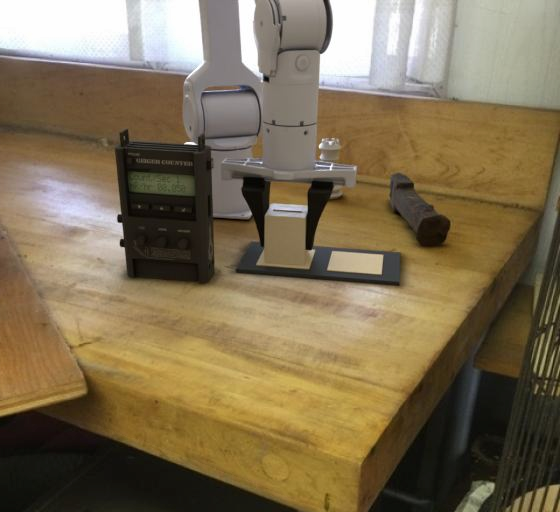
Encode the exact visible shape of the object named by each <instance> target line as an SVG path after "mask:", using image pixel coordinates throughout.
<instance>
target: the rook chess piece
mask: <svg viewBox="0 0 560 512" xmlns="http://www.w3.org/2000/svg"><path fill="white" fill-rule="evenodd" d="M330 139H331V140H330ZM320 142H321V143H320V144H319V145H318V148H319V150H320V152H321V154H320V156H319V160H320V161H322V162H329V163H335V164H338V160H339V159H340V157H339V155H338V154H339V152H340V150H341V149H342V146H341V144H340V139H339V138H334V137H332V138H329V137H326V138H322V139H321V141H320ZM342 189H343V186H338V185H334V188H333V191H332V194H331V197H330V199H329V200H336V199H339V198H341V196H342V195H343V191H342Z"/></svg>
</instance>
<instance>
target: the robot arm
mask: <svg viewBox="0 0 560 512" xmlns="http://www.w3.org/2000/svg"><path fill="white" fill-rule="evenodd" d="M253 1H254V4H255V7H254V12H253V20H252V31H253V38H254V43H255V47H256V53H257V67H258V72H259V73H260V74H262V80H261V77H260V76H258V74H256V73H255V72H254V71H253V70H252V69H250V68H249V67H248V66H247V65H246V64H245V63H244V62H243V58H242V39H241V24H240V23H241V22H240V21H241V20H240V6H239V3H240V2H239V0H198V10H199V12H198V13H199V22H200V23H199V24H200V36H201V37H200V38H201V51H202V62H201V63H200V65H199V66H197V68H195V69H194V70H193V71H192V72H191V73H190V74H189V75H188V76H187V77H186V79H185V80H184V81H183V87H182V89H183V101H182V122H183V127H184V131H185V134H186V136H187V138H188V139H189V140H190V141H189V142H185V143H184V144H192V145H198V136H200V135H201V134H202V133H205V145H208V146H210V147H211V158H213V165H214V168H213V169H212V199H213V218H220V219H221V218H222V219H234V220H250V219H251V217H252V218H253V220H254V224H255V228H256V230H257V234H258V238H259V242H260V246H261V247H264V234H265V214H266V212H267V211H268V209H269V207H270V199H271V198H270V196H271V185H272V184H271V183H272V182H274V183H290V184H292V183H293V184H307V185H310V186H309V188H308V190H307V195H306V197H307V206H308V224H307V233H306V250H312V248H313V246H315V237H316V232H317V229H318V225H319V222H320V219H321V218H322V215H323V212H324V210H325V209H326V206H327V205H328V202H329V201H330V200H331V199H330V197H331V194H332V191H333V188H334V185H338V186H342V187H344V188H347V189H355V188H356V184H357V171H358V166H357V165H350V164H343V163H341V164H340V163H337V164H335V163H329V162H322V161H321V160H317V138H318V137H317V135H318V117H319V116H318V115H319V93H320V92H319V91H320V68H321V55H323V54H324V53H325V52H327V50H328V48H329V47H330V44H331V40H332V37H333V30H334V29H333V28H334V14H333V8H332V3H331V0H253ZM230 86H232V87H237V88H240V89H225V90H206V89H208V88H211V87H230ZM205 90H206V91H205ZM260 138H262V144H261V145H262V147H261V148H262V149H261V151H262V157H253V146H257V145H258V140H259V139H260ZM201 144H202V141H201Z"/></svg>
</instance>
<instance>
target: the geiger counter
mask: <svg viewBox="0 0 560 512" xmlns="http://www.w3.org/2000/svg"><path fill="white" fill-rule="evenodd" d="M201 141H202V144H201ZM114 154H115V165H116V176H117V186H118V196H119V206H120V213H118V214H117V216H116V221H117V223H119V224H121V225H122V236H123V237H122V238H120V239H119V247H120V248H124V256H125V265H126V275H127V277H128V278H130V279H134V278H136V277H139V278H148V279H159V280H160V279H161V280H172V281H183V282H195V283H198V284H199V285H205V284H209V283H210V281H211V280H212V279H213V277H214V275H215V274H216V272H215V271H216V269H215V268H216V266H215V235H214V234H215V233H214V232H215V231H214V217H213V199H212V169H213V168H214V165H213V158H211V147H210V146H208V145H205V133H202V134H201V135H200V136H198V145H192V144H185V143H177V142H176V143H175V142H174V143H173V142H157V141H139V140H130V135H129V128H125V129H123V130H121V131H119V144H117V146H115V147H114Z"/></svg>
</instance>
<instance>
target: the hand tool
mask: <svg viewBox="0 0 560 512" xmlns="http://www.w3.org/2000/svg"><path fill="white" fill-rule="evenodd" d="M389 203H390V206H391V208H392V212H393V213H396V214H400V216H401V218H402V219H404V220H405V221H406V222H407V224H408V225H409V227H410V228H411V229H412V230H413V231H414V233H416V241H417V242H418V244H419V245H420V246H422V247H432V246H437V245H441V244H443V243H444V242H445V241H446V240H447V238H448V233H449V232H450V230H451V220H450V219H449V218H448V217H446V216H445V215H443V214H440V213H438V212H437V211H436V209H435V206H434V205H433V204H432V203H431V204H430V203H428V202H426V200H425V199H424V198H422V196H420V195H419V194H418V192H417V191H416V189H415V183H414V182H413V181H412V180H411V178H410V177H409V176H407V175H406V174H404V173H401V172H396V173H393V174H391V175H390V181H389Z"/></svg>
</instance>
